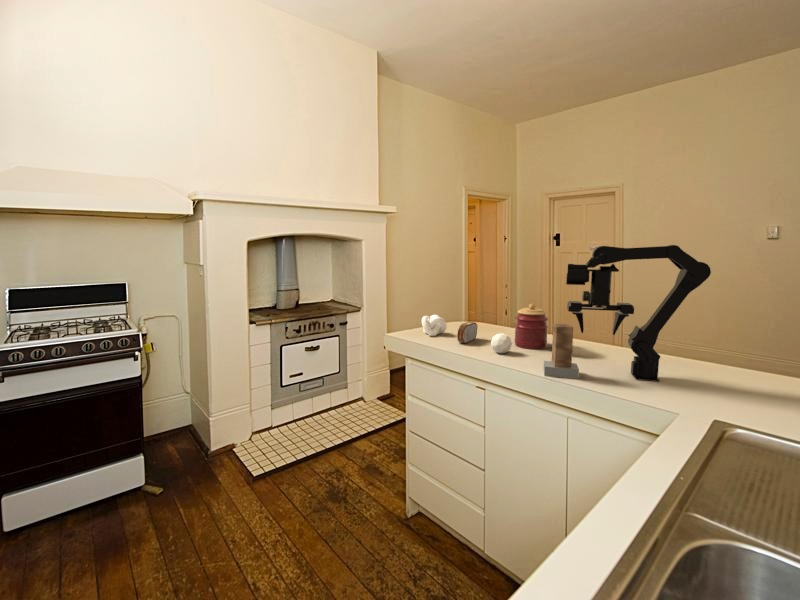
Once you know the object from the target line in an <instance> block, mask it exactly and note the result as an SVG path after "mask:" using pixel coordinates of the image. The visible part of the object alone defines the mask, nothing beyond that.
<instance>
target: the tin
mask: <svg viewBox="0 0 800 600" xmlns="http://www.w3.org/2000/svg"><path fill="white" fill-rule="evenodd" d="M478 328H479V327H478V324H477V323H476V322H474V321H466V322H464V323H461V324H460V326H459V328H458V329H457V334H456V335H457V338H456V339H457V342H459V343H461V344H467V343H470V342H472V341H474V340H475V339H476V338H477V334H478Z"/></svg>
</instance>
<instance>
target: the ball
mask: <svg viewBox="0 0 800 600" xmlns="http://www.w3.org/2000/svg"><path fill="white" fill-rule="evenodd" d="M490 344H491V347H492V350H493V351H494V352H496V353H497V354H506V353H507V352H509V351H510V350H511V349H512V344H513V342H512V339H511V337H510V336H509V335H507V334H506V333H497V334H495V335H493V336H492V338H491V342H490Z"/></svg>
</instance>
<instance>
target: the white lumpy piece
mask: <svg viewBox="0 0 800 600" xmlns="http://www.w3.org/2000/svg"><path fill="white" fill-rule="evenodd" d="M421 325H422V328H423V329H422V330H423V333H424V334H425V335H429V336H430V337H435V336H437V335H439V334H444V333H445V332H446V330H447V326H448V325H447V322H446V320H445V319H444V318H443V317H442V316H441V317H440V316H439V315H438V314H432V315H430V316H429V315H424V316H422V318H421Z"/></svg>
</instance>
